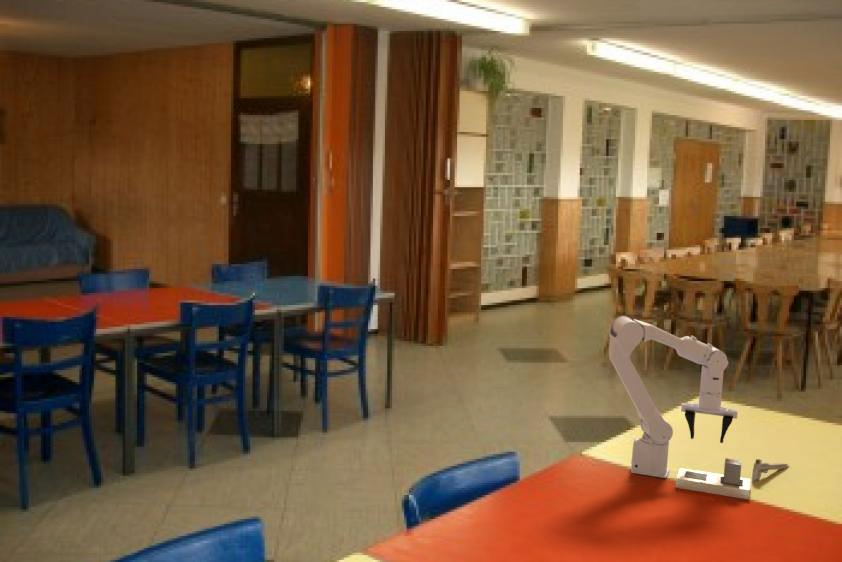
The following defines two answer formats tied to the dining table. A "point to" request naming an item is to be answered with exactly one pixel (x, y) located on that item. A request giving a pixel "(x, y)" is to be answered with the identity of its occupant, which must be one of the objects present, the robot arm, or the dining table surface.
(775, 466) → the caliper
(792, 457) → the dining table surface
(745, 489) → the white slotted board
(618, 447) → the dining table surface
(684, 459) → the dining table surface
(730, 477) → the peg
